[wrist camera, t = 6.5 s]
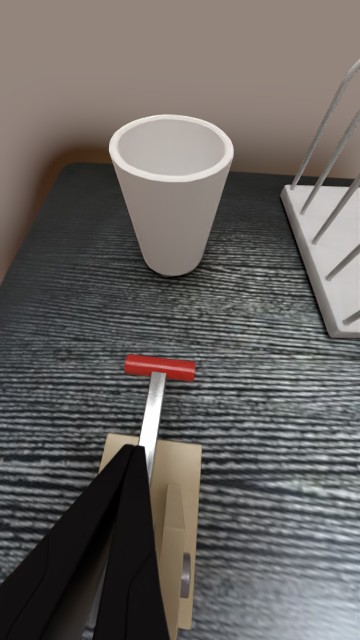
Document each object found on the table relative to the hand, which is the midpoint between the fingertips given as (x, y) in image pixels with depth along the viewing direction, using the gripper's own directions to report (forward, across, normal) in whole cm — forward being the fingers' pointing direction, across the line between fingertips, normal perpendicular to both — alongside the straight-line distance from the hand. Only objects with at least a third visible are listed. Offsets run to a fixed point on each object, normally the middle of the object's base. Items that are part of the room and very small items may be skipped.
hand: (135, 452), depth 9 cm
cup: (+23, +1, -7) cm, 24 cm away
